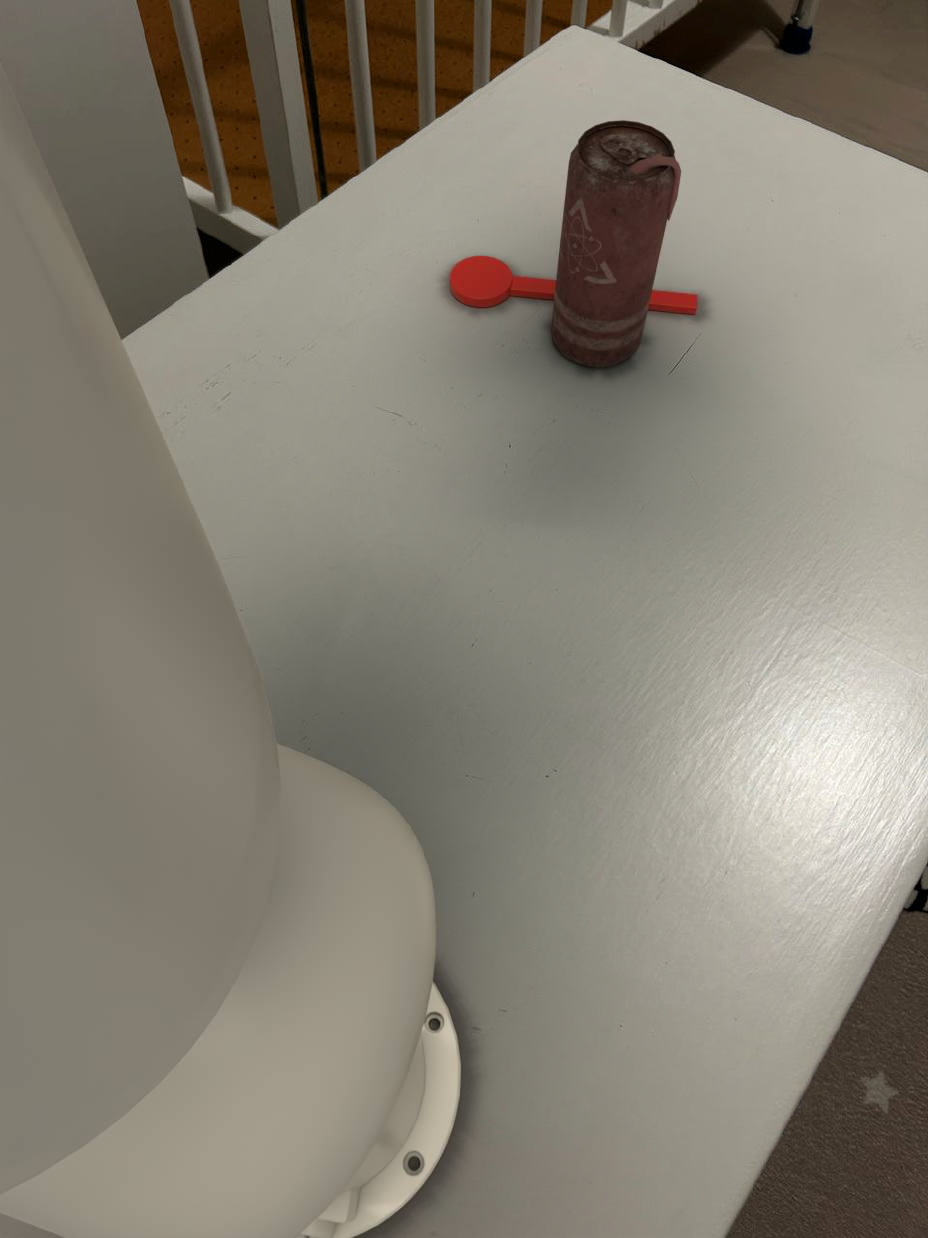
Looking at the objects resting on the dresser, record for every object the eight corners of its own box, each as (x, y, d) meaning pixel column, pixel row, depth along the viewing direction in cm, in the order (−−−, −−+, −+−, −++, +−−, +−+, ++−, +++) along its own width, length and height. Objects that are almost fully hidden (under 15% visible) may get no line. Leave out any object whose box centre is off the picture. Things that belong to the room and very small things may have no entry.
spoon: (696, 285, 68) (698, 276, 68) (694, 330, 66) (697, 321, 65) (454, 261, 69) (454, 252, 69) (445, 304, 67) (445, 295, 67)
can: (638, 378, 64) (681, 190, 52) (543, 363, 64) (563, 174, 52) (648, 314, 67) (691, 122, 55) (557, 300, 67) (579, 108, 55)
